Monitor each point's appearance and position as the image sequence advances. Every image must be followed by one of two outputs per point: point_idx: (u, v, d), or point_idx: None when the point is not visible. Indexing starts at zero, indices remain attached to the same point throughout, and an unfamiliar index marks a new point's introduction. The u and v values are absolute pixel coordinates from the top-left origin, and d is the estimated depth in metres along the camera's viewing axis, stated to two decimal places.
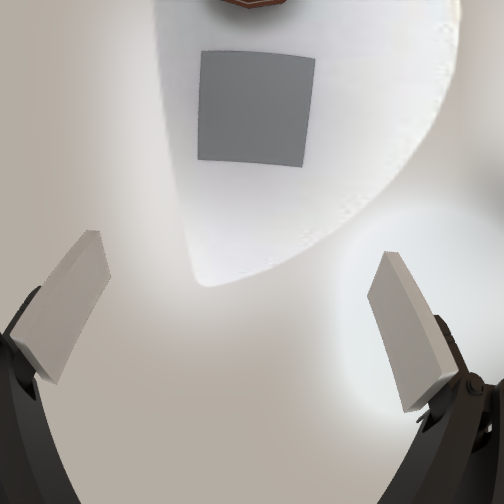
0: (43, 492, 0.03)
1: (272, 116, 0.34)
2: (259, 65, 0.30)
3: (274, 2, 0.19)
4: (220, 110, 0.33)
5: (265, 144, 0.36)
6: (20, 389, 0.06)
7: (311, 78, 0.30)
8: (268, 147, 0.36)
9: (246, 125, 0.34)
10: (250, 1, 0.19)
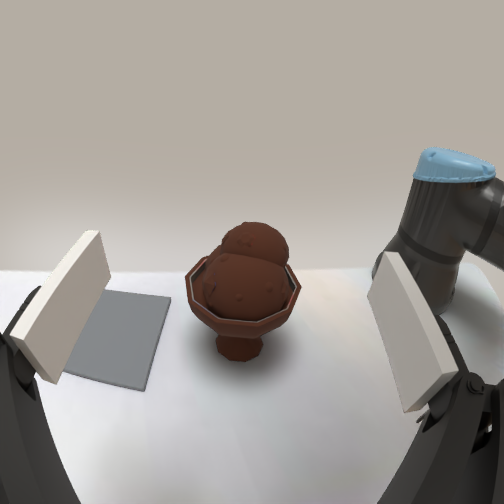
0: (43, 492, 0.03)
1: (89, 342, 0.29)
2: (142, 337, 0.31)
3: (188, 294, 0.25)
4: (109, 304, 0.35)
5: None
6: (20, 389, 0.06)
7: (119, 382, 0.26)
8: None
9: (88, 321, 0.32)
10: (195, 284, 0.28)
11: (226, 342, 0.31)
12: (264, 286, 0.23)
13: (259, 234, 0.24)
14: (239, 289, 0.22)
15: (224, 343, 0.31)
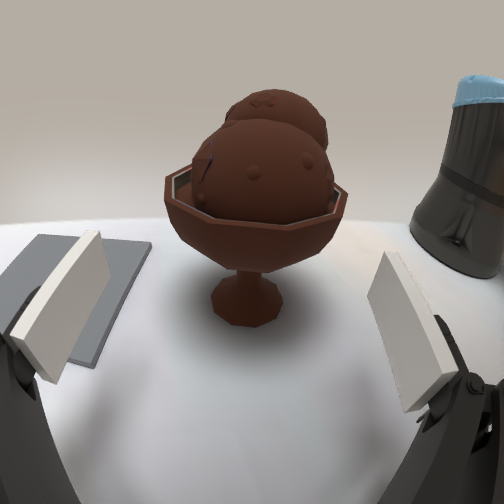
0: (43, 492, 0.03)
1: None
2: (104, 290, 0.21)
3: (166, 192, 0.15)
4: None
5: (9, 285, 0.19)
6: (20, 389, 0.06)
7: None
8: (5, 288, 0.19)
9: (39, 271, 0.21)
10: (180, 190, 0.17)
11: (227, 297, 0.21)
12: (299, 158, 0.12)
13: (285, 94, 0.14)
14: (255, 157, 0.12)
15: (224, 298, 0.21)
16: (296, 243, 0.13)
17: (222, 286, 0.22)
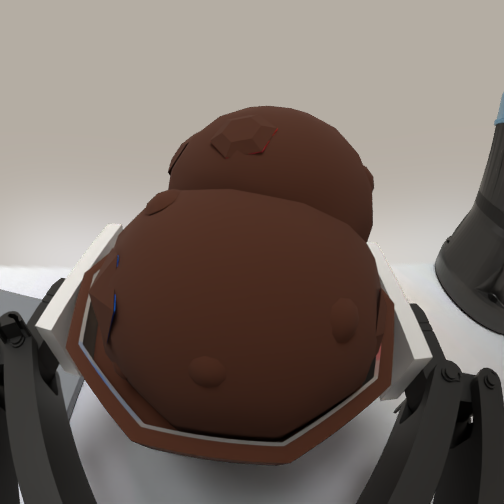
0: (60, 491, 0.04)
1: None
2: None
3: (72, 324, 0.07)
4: None
5: None
6: (43, 383, 0.06)
7: None
8: None
9: None
10: None
11: None
12: (326, 318, 0.05)
13: (292, 120, 0.06)
14: (208, 337, 0.04)
15: None
16: None
17: None
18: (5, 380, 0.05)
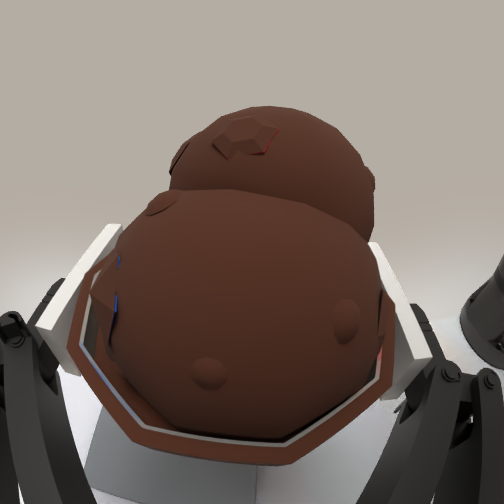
0: (60, 491, 0.04)
1: (157, 460, 0.19)
2: None
3: (72, 324, 0.07)
4: None
5: (117, 444, 0.19)
6: (43, 383, 0.06)
7: None
8: (113, 447, 0.19)
9: None
10: None
11: None
12: (328, 320, 0.05)
13: (294, 121, 0.06)
14: (211, 339, 0.04)
15: None
16: None
17: None
18: (5, 380, 0.05)
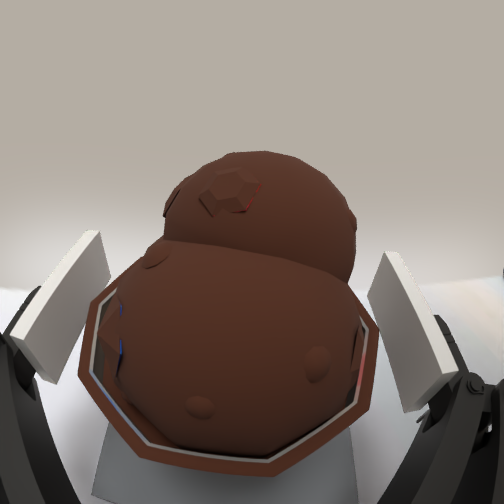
0: (43, 492, 0.03)
1: None
2: None
3: (82, 353, 0.08)
4: None
5: None
6: (20, 389, 0.06)
7: None
8: None
9: None
10: None
11: None
12: (300, 365, 0.05)
13: (276, 172, 0.07)
14: (200, 382, 0.05)
15: None
16: None
17: None
18: None
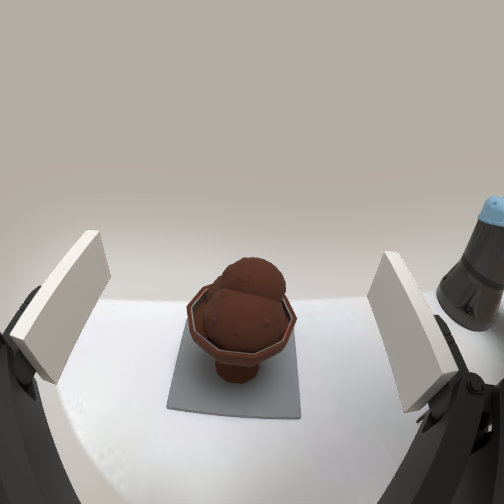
0: (43, 492, 0.03)
1: None
2: (283, 368, 0.34)
3: (189, 324, 0.26)
4: None
5: (195, 372, 0.32)
6: (20, 389, 0.06)
7: (276, 415, 0.28)
8: (192, 375, 0.32)
9: None
10: (196, 314, 0.29)
11: (225, 365, 0.32)
12: (262, 322, 0.24)
13: (258, 271, 0.25)
14: (238, 325, 0.24)
15: (223, 366, 0.32)
16: (260, 359, 0.25)
17: None
18: None
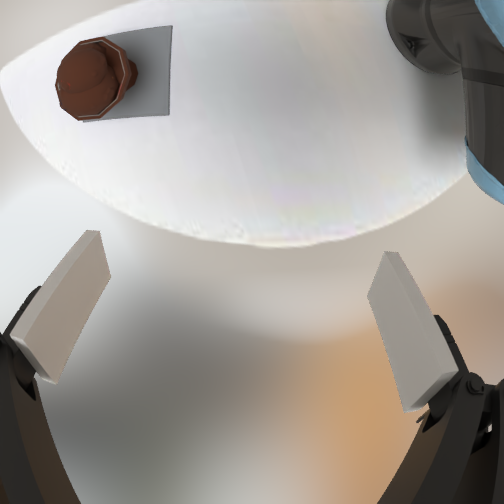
0: (43, 492, 0.03)
1: None
2: (156, 72, 0.33)
3: None
4: None
5: None
6: (20, 389, 0.06)
7: (150, 114, 0.37)
8: None
9: None
10: None
11: None
12: (89, 107, 0.25)
13: (71, 80, 0.21)
14: (76, 113, 0.25)
15: None
16: None
17: None
18: None
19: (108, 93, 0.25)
